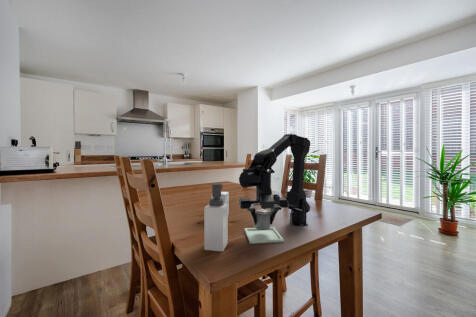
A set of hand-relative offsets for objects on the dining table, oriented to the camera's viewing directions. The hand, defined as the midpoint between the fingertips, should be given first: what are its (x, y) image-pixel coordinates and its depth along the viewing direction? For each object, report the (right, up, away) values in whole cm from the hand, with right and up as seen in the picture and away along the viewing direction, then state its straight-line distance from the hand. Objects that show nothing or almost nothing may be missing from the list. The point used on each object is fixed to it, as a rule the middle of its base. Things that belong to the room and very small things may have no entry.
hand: (263, 224), depth 83 cm
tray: (0, -5, 0) cm, 5 cm away
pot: (0, -2, +1) cm, 2 cm away
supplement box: (-19, -4, +23) cm, 30 cm away
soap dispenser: (-17, -5, -8) cm, 20 cm away
